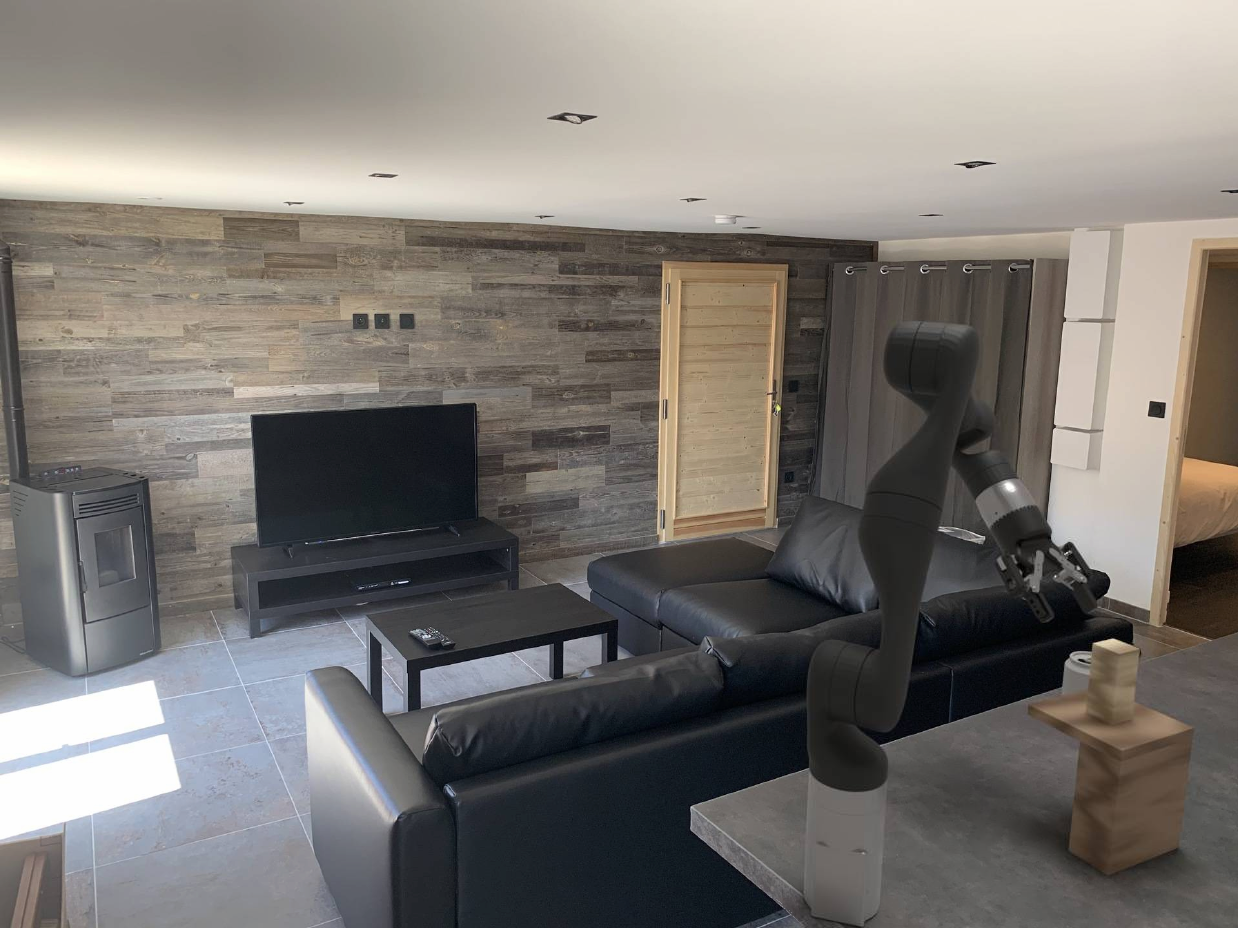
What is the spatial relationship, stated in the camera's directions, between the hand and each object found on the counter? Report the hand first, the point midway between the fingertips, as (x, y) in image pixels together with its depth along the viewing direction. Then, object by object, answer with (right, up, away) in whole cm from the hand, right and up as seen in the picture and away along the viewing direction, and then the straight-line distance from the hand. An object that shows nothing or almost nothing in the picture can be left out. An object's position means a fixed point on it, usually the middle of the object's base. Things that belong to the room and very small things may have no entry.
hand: (1070, 615), depth 135 cm
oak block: (+3, -13, -4) cm, 14 cm away
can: (+17, -24, +32) cm, 43 cm away
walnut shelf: (+3, -30, -1) cm, 30 cm away
